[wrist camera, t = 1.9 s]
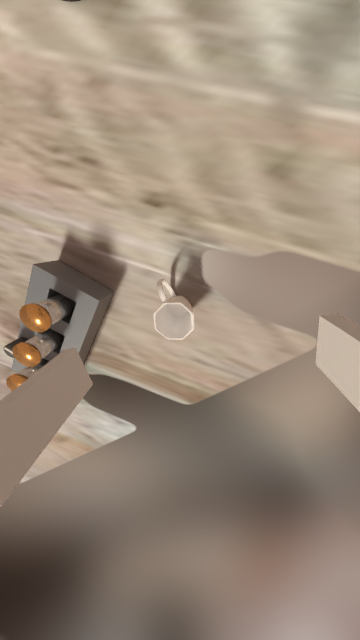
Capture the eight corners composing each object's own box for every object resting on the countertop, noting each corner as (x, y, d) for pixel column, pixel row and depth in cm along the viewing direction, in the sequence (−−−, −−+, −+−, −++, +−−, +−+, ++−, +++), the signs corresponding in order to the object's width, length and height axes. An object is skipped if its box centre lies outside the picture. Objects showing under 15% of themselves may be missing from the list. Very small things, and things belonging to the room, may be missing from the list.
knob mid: (39, 337, 38) (8, 356, 32) (47, 322, 36) (17, 338, 30) (59, 350, 39) (33, 371, 33) (68, 336, 37) (42, 355, 31)
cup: (171, 326, 39) (164, 346, 32) (148, 283, 36) (135, 294, 29) (202, 314, 38) (202, 332, 30) (181, 267, 34) (175, 275, 27)
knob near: (47, 305, 35) (15, 319, 29) (57, 287, 33) (25, 298, 27) (69, 320, 36) (42, 337, 30) (79, 303, 34) (53, 317, 28)
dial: (16, 343, 38) (1, 352, 35) (20, 334, 37) (5, 342, 34) (29, 351, 38) (15, 360, 36) (33, 342, 37) (19, 351, 35)
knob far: (32, 364, 41) (3, 385, 35) (39, 351, 39) (10, 371, 33) (50, 375, 42) (25, 399, 36) (59, 363, 40) (34, 386, 34)
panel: (78, 376, 48) (62, 393, 42) (33, 354, 47) (11, 369, 41) (114, 291, 38) (99, 300, 32) (58, 260, 36) (33, 264, 31)
